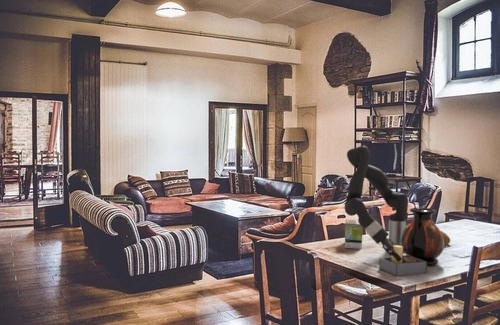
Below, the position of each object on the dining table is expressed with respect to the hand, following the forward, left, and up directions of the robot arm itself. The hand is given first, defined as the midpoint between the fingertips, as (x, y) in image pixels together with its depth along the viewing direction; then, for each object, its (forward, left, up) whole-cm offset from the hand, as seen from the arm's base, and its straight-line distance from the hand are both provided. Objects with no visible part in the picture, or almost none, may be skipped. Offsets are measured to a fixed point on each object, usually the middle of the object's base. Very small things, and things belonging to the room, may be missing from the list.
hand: (400, 258), depth 225 cm
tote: (-2, -1, -7) cm, 7 cm away
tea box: (-8, -55, -7) cm, 56 cm away
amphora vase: (-22, -12, -7) cm, 26 cm away
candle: (+1, -1, -4) cm, 5 cm away
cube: (-6, -2, -6) cm, 9 cm away
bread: (-55, -52, -7) cm, 76 cm away
